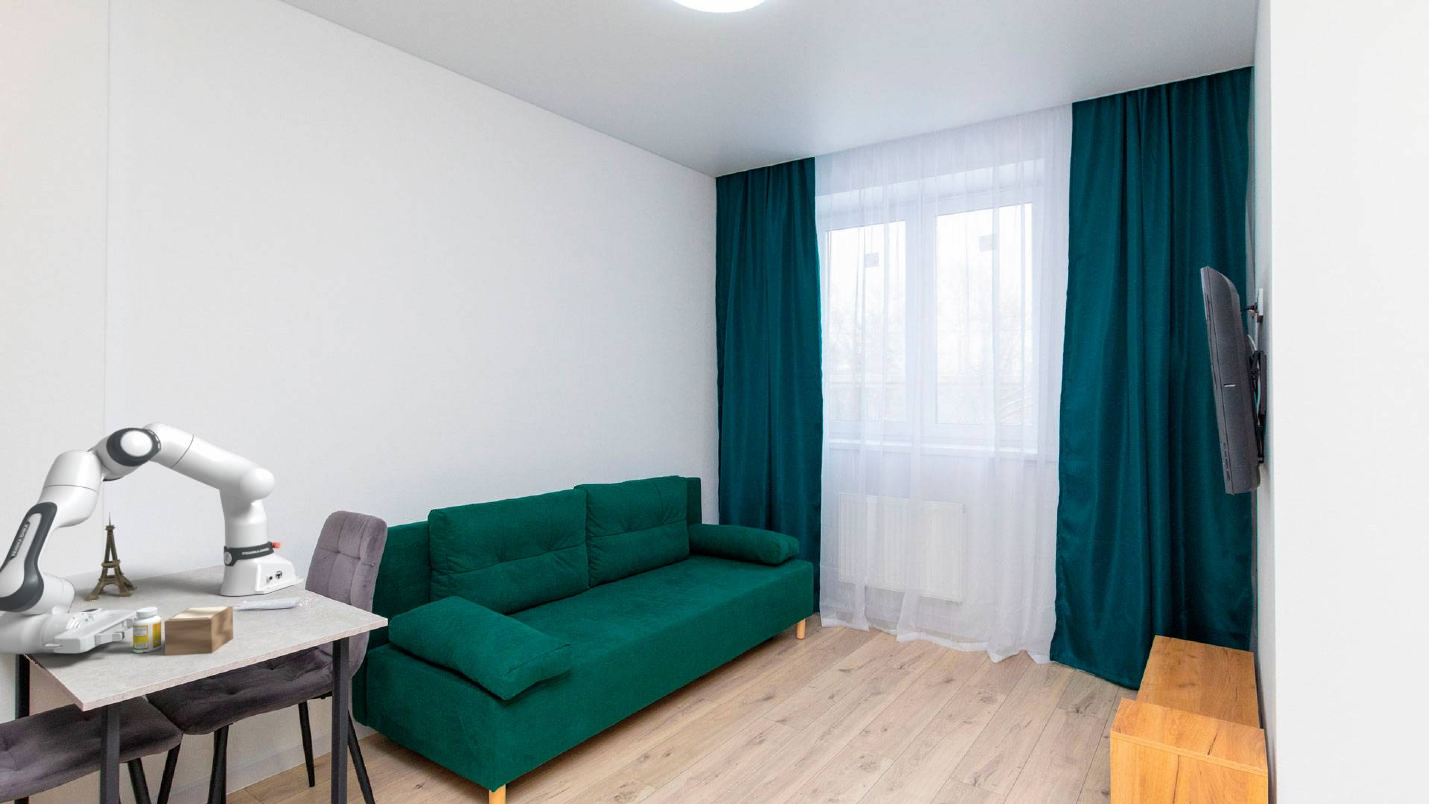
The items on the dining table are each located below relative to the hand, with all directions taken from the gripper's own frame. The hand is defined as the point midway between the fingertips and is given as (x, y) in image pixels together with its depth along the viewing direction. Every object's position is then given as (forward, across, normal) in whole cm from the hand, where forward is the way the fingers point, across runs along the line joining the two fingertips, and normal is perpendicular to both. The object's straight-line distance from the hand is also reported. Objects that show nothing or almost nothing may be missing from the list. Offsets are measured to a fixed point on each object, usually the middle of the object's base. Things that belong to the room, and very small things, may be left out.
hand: (135, 629), depth 175 cm
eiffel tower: (-36, +51, +5) cm, 63 cm away
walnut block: (+14, 0, +5) cm, 15 cm away
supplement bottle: (+2, 0, +5) cm, 6 cm away
